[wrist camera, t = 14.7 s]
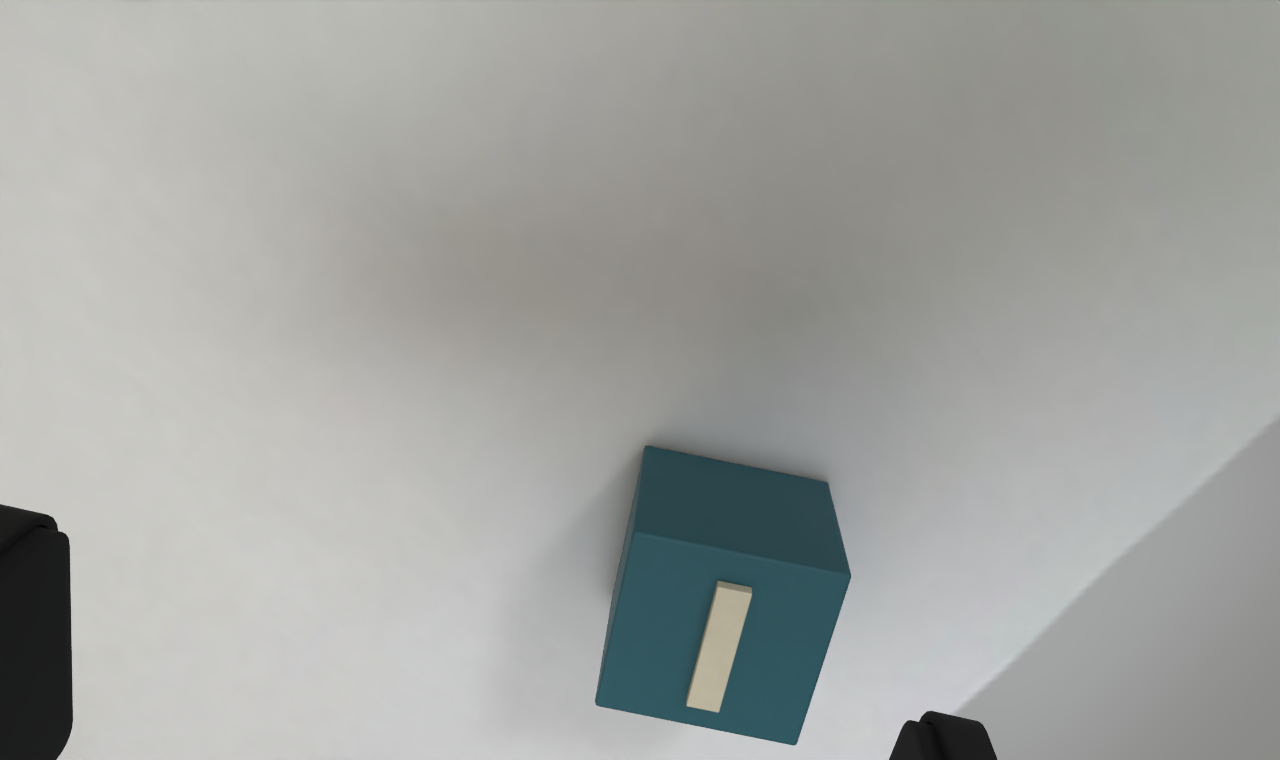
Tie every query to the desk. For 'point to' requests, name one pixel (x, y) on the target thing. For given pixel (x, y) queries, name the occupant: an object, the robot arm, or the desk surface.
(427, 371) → the desk surface
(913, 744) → the robot arm
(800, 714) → the teal letter i cube
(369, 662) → the desk surface
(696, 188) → the desk surface
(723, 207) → the desk surface
